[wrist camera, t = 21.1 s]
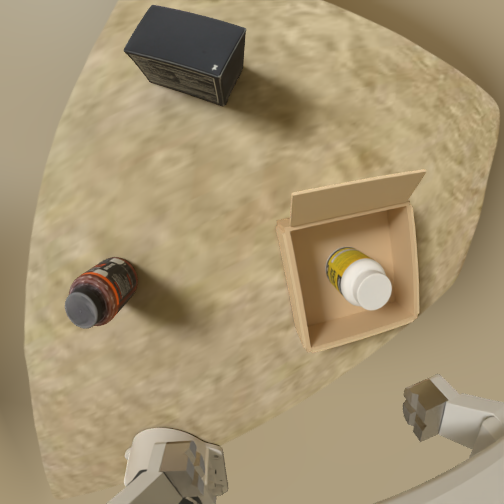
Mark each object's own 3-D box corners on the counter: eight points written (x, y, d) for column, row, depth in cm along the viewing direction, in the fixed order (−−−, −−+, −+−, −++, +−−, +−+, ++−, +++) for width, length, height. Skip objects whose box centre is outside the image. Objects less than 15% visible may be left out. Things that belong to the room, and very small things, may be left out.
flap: (426, 171, 26) (425, 169, 26) (292, 195, 26) (291, 192, 26) (406, 201, 31) (405, 199, 32) (290, 226, 31) (289, 224, 31)
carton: (398, 303, 41) (419, 319, 35) (296, 332, 41) (305, 355, 35) (388, 197, 38) (411, 200, 32) (273, 221, 37) (281, 228, 32)
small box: (246, 64, 33) (250, 26, 23) (224, 108, 34) (221, 80, 24) (170, 40, 32) (151, 1, 22) (147, 82, 33) (120, 52, 23)
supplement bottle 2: (316, 261, 38) (342, 286, 29) (351, 237, 38) (386, 255, 28) (336, 294, 39) (364, 326, 30) (369, 271, 39) (405, 296, 30)
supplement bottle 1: (114, 246, 37) (73, 269, 26) (147, 277, 38) (117, 311, 27) (90, 278, 38) (48, 309, 27) (122, 307, 39) (89, 348, 28)
